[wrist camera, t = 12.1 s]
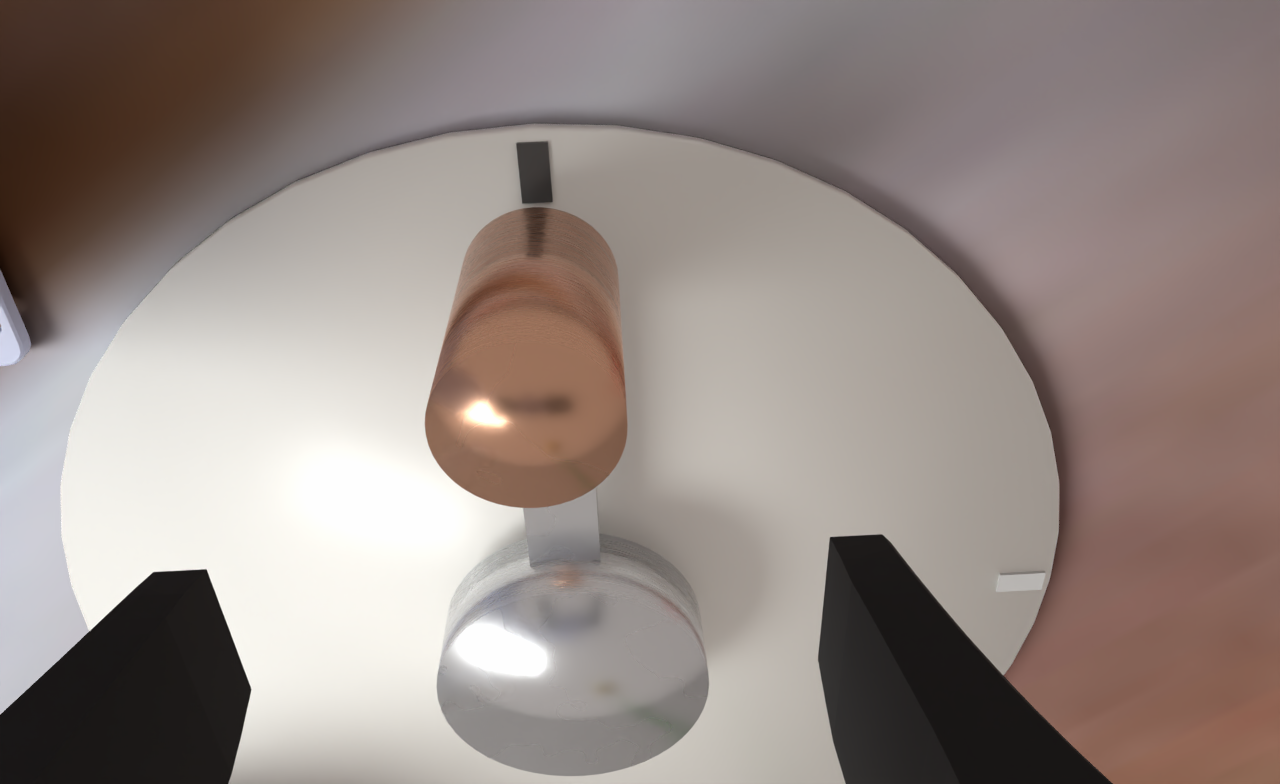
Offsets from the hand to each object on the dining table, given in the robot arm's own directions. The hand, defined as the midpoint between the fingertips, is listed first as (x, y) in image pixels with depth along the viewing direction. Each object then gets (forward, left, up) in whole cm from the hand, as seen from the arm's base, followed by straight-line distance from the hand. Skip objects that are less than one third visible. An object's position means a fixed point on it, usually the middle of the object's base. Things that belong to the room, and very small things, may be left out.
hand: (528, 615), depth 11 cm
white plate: (+10, 0, -10) cm, 14 cm away
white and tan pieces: (+6, 0, -9) cm, 11 cm away
